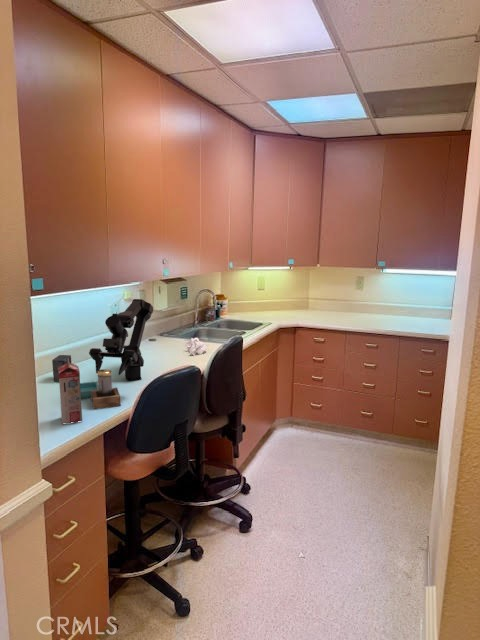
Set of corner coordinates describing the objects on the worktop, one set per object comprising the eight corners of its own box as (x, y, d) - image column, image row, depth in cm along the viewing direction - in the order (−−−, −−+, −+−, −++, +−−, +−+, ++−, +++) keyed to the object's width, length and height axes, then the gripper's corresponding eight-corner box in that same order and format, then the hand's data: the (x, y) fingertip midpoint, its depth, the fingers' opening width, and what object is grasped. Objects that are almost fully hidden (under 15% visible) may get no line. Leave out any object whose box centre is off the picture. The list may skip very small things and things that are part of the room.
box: (60, 376, 200) (59, 354, 198) (72, 377, 200) (71, 355, 198) (53, 382, 192) (51, 359, 190) (65, 382, 192) (64, 359, 190)
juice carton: (80, 414, 159) (77, 357, 155) (82, 422, 153) (79, 362, 149) (61, 417, 156) (57, 359, 152) (62, 424, 150) (58, 364, 146)
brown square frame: (117, 396, 177) (116, 387, 176) (120, 405, 168) (120, 396, 167) (91, 400, 173) (91, 390, 172) (93, 409, 164) (93, 399, 163)
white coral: (211, 349, 241) (199, 338, 237) (201, 361, 240) (188, 350, 236) (205, 344, 252) (193, 334, 248) (195, 356, 251) (183, 345, 247)
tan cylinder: (111, 399, 174) (110, 368, 171) (113, 404, 169) (112, 372, 167) (98, 401, 172) (97, 370, 169) (99, 406, 167) (98, 373, 165)
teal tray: (97, 388, 186) (97, 381, 186) (100, 396, 177) (99, 389, 176) (70, 391, 182) (69, 384, 182) (71, 400, 172) (70, 393, 172)
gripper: (89, 328, 174) (77, 362, 166) (134, 331, 172) (124, 365, 163) (99, 343, 183) (88, 376, 175) (141, 345, 181) (132, 378, 173)
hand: (107, 373), depth 171 cm, fingers open, 9 cm apart
